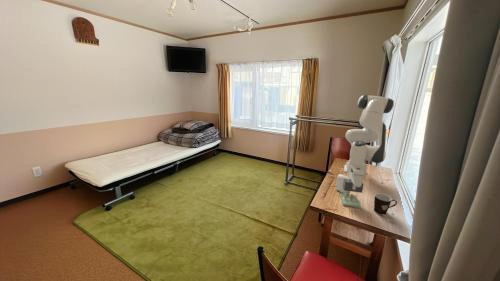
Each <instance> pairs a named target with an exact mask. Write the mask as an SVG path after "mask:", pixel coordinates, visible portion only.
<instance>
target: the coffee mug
mask: <svg viewBox="0 0 500 281" xmlns="http://www.w3.org/2000/svg"><path fill="white" fill-rule="evenodd" d="M392 202H395V204H392ZM391 204H392V205H391ZM397 204H398V201H397V200H396V199H393V198H392V197H391V196H389V195H387V194H385V193H378V192H377V193H375V194H374V204H373V211H374V212H375V213H376V214H378V215H382V216H386V215H387V213H388V210H389V209H391V208H393V207H395V206H396V205H397ZM390 205H391V206H390Z"/></svg>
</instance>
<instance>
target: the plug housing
mask: <svg viewBox="0 0 500 281" xmlns="http://www.w3.org/2000/svg"><path fill="white" fill-rule="evenodd" d="M352 186H353V183H352V181H351V179H344V181H343V189H344V190H345V191H350V192H354V193H361V194H363V191H364V182H363V181H362V185H361V187H356V189H355V190H353V189H352Z"/></svg>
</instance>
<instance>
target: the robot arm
mask: <svg viewBox="0 0 500 281" xmlns="http://www.w3.org/2000/svg"><path fill="white" fill-rule="evenodd" d="M394 106H395V101H394V99H392V98H389V97H384V96H379V95H378V96H377V95H369V94H363V95H361V96H360V97H359V98H358V100H357V107H358V109H360V110H362V112H361V114H360V117H359V120H358V122H359V124H360V126H361V127H363V128H351V129H348V130H347V131H346V132H345V136H344V137H345V139H346V141H347V142H349V143H350V146H351V147H350V151H349V160H348V161H347V162H345V164H344V165H343V172H344V173H347V175H348V177H349V178H350V179H351V181H352V183H353V186H352V189H353V190H355V189H356V187H361V185H362V182H363V180H364V176H365V175H368V172H367V164H366V161H368V162H371V163H375V164H381V163H382V162H384V161H385V159H386V155H387V153H386V139H387V138H386V137H387V126H386V124H385V123H384V121H383V117H384V114H389V113H390V112H391V111H392V110H393V109H394ZM375 142H377V145H376V146H374V145H370V144H369V145H368V144H367V143H375Z"/></svg>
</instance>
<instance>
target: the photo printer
mask: <svg viewBox="0 0 500 281" xmlns="http://www.w3.org/2000/svg"><path fill="white" fill-rule="evenodd" d="M344 179H350V177H349V176H347V175H345V174H338V175H337V177H336V183H335V190H336V191H338V192H339V193H346V194H351V191H345V190H344V189H343V181H344Z"/></svg>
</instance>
